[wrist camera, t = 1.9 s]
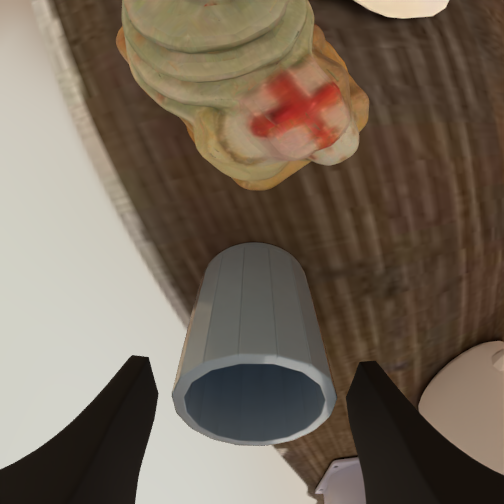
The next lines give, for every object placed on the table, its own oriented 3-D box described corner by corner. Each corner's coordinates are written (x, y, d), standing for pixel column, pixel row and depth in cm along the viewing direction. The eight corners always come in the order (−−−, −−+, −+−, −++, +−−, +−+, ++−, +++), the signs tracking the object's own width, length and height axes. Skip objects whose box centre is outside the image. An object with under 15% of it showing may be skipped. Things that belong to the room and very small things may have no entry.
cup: (300, 331, 17) (319, 444, 10) (203, 329, 17) (183, 441, 10) (313, 243, 14) (353, 353, 8) (198, 240, 14) (160, 348, 8)
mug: (411, 428, 22) (444, 536, 12) (420, 340, 17) (495, 500, 7) (495, 389, 21) (541, 480, 10) (525, 292, 16) (614, 402, 5)
